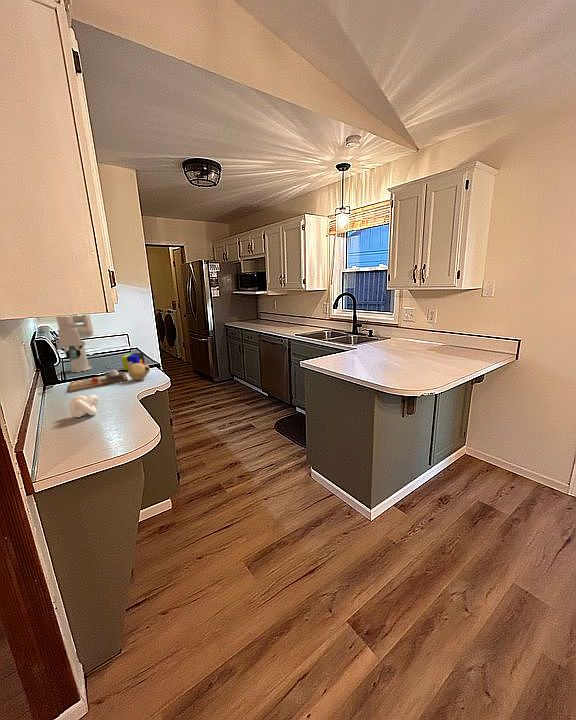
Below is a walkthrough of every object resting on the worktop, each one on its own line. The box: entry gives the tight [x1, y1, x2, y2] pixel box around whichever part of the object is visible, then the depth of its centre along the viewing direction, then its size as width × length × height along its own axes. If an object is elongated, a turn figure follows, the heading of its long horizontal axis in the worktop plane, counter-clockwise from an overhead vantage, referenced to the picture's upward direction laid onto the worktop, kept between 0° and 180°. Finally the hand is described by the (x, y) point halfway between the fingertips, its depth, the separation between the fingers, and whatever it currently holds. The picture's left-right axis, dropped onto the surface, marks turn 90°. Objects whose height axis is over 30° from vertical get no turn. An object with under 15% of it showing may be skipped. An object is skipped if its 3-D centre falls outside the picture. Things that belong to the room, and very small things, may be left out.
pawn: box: [67, 346, 79, 361], centre depth 188 cm, size 4×4×8 cm
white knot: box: [69, 394, 99, 418], centre depth 148 cm, size 11×12×9 cm
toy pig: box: [127, 363, 151, 381], centre depth 195 cm, size 10×12×11 cm
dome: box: [108, 369, 120, 377], centre depth 194 cm, size 6×6×4 cm
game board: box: [68, 370, 129, 394], centre depth 194 cm, size 18×30×5 cm, turn 121°
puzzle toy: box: [121, 352, 146, 371], centre depth 219 cm, size 10×10×10 cm
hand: (74, 357), depth 188 cm, fingers closed on pawn, 4 cm apart
